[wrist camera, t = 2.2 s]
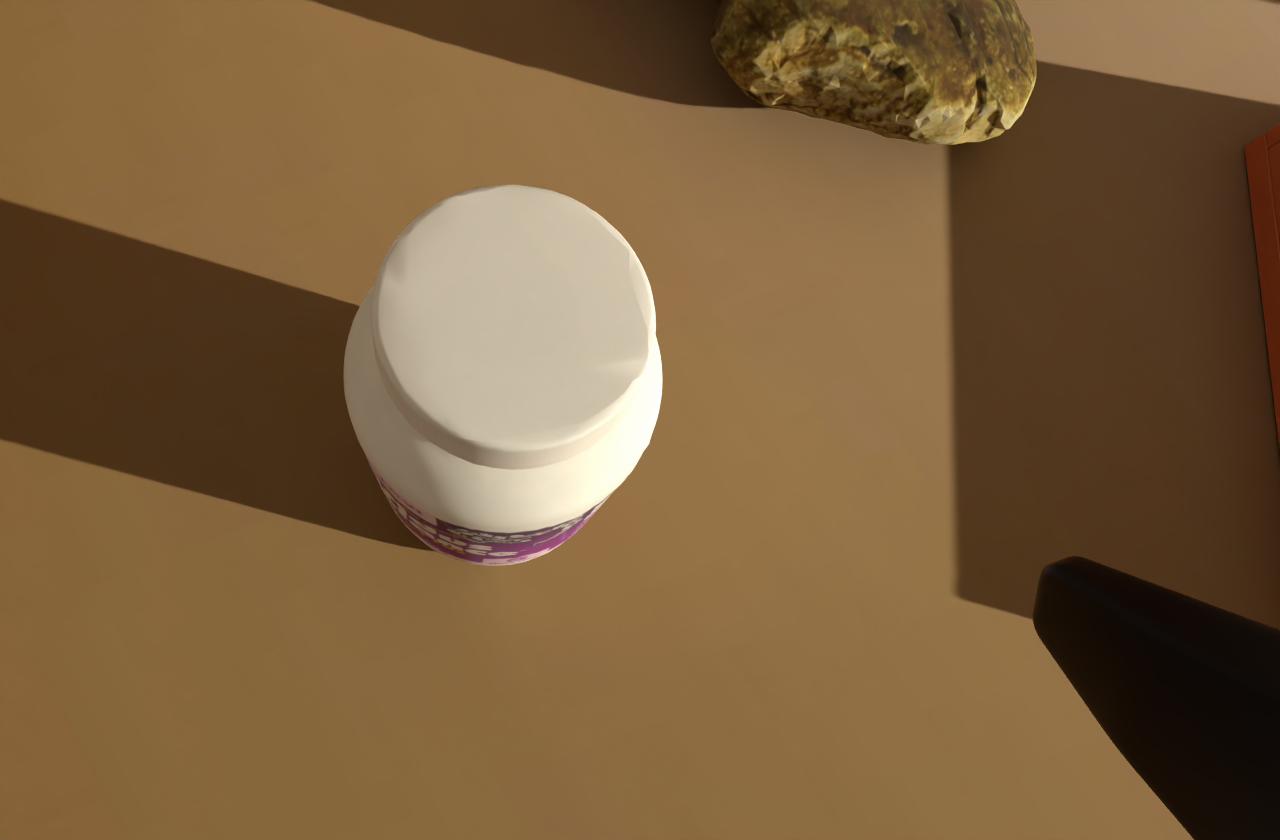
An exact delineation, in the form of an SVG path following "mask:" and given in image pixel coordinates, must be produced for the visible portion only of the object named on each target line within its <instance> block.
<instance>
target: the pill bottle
mask: <svg viewBox="0 0 1280 840" xmlns="http://www.w3.org/2000/svg"><path fill="white" fill-rule="evenodd" d="M655 331H656V317H655V308H654V302H653V296H652V291H651V288H650V284H649V281H648V278H647V276H646V273H645V271H644V269H643V267H642V265H641V263H640V261H639V259H638V258H637V256H636V254H635V252H634V251H633V249H632V248H631V246H630V245H629V244H628V242H627V241H626V240H625V239H624V237H623V236H622V235H621V234H620V233H619V232H618V231H617V230H616V229H615V228H614V227H613V226H612V225H611V224H610V223H608V222H607V221H606V220H605V219H604V218H603V217H601V216H600V215H599V214H598V213H596V212H595V211H593V210H591V209H589V208H588V207H587V206H585V205H584V204H582V203H580V202H578V201H576V200H574V199H572V198H570V197H568V196H565V195H563V194H560V193H557V192H554V191H551V190H547V189H543V188H539V187H533V186H526V185H492V186H483V187H479V188H472V189H468V190H465V191H462V192H459V193H456V194H454V195H452V196H450V197H447V198H445V199H442V200H441V201H439V202H437V203H436V204H434V205H433V206H431V207H429V208H428V209H426V210H425V211H423V212H422V213H421V214H420V215H418V216H417V217H416V218H415V219H414V220H413V221H412V222H411V223H409V224H408V226H407V227H406V228H405V229H404V230H403V231H402V232H401V233H400V235H399V236H398V237H397V238H396V239H395V241H394V242H393V244H392V245H391V247H390V248H389V250H388V252H387V253H386V255H385V257H384V259H383V261H382V263H381V266H380V268H379V271H378V274H377V277H376V280H375V283H374V284H373V286H372V287H371V289H370V290H369V292H368V293H367V295H366V296H365V298H364V299H363V301H362V303H361V305H360V307H359V309H358V311H357V313H356V316H355V318H354V320H353V323H352V326H351V329H350V333H349V336H348V340H347V345H346V349H345V357H344V392H345V399H346V404H347V408H348V412H349V416H350V419H351V422H352V425H353V428H354V430H355V433H356V436H357V439H358V441H359V443H360V445H361V447H362V449H363V451H364V453H365V455H366V457H367V459H368V462H369V464H370V467H371V470H372V472H373V474H374V476H375V477H376V479H377V481H378V483H379V486H380V488H381V489H382V491H383V492H384V494H385V496H386V497H387V499H388V501H389V503H390V505H391V507H392V508H393V510H394V512H395V513H396V514H397V516H398V517H399V518H400V520H401V521H402V522H403V523H404V525H405V526H406V527H407V528H408V529H409V530H410V531H411V532H412V533H413V534H414V535H416V536H417V537H418V538H419V539H420V540H421V541H422V542H424V543H425V544H426V545H428V546H429V547H430V548H432V549H434V550H436V551H437V552H439V553H441V554H443V555H446V556H448V557H451V558H453V559H456V560H459V561H463V562H466V563H471V564H478V565H490V566H496V565H511V564H516V563H522V562H525V561H528V560H531V559H534V558H536V557H539V556H541V555H543V554H546V553H548V552H550V551H551V550H553V549H555V548H556V547H558V546H559V545H561V544H562V543H563V542H565V541H566V540H567V539H569V538H570V537H571V536H572V535H573V534H575V533H576V532H577V531H578V530H579V529H580V528H581V527H582V526H583V525H584V524H585V523H586V522H587V521H588V519H589V518H590V517H591V516H592V515H593V514H594V513H595V512H596V511H597V510H598V508H599V507H600V506H601V505H602V504H603V503H604V502H605V501H606V500H607V498H608V497H609V496H610V495H611V494H612V493H613V492H614V491H615V490H616V489H617V488H618V487H619V486H620V485H621V484H622V483H623V482H624V480H625V479H626V478H627V477H628V475H629V474H630V473H631V471H632V470H633V469H634V467H635V466H636V464H637V462H638V460H639V458H640V457H641V455H642V453H643V452H644V450H645V449H646V447H647V446H648V445H649V441H650V438H651V434H652V432H653V429H654V427H655V424H656V420H657V417H658V413H659V408H660V402H661V395H662V365H661V357H660V352H659V346H658V342H657V339H656V335H655Z"/></svg>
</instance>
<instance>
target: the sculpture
mask: <svg viewBox="0 0 1280 840" xmlns="http://www.w3.org/2000/svg"><path fill="white" fill-rule="evenodd" d="M710 40H711V45H712V48H713V51H714V54H715V57H716V59H717V60H718V61H719V62H720V63H721V65H722V67H723V69H724V70H725V71H726V72H727V73H728V74H729V76H730V77H731V78H732V80H733V81H734V83H735V84H736V85H737V86H738V87H739V88H740V89H741V90H742V91H743V92H744V93H745V94H746V95H747V96H748V97H750V98H751V99H753V100H755V101H756V102H758V103H760V104H762V105H765V106H768V107H772V108H777V109H784V110H790V111H797V112H800V113H802V114H805V115H808V116H810V117H816V118H822V119H827V120H831V121H835V122H839V123H843V124H847V125H850V126H854V127H857V128H861V129H865V130H870V131H872V132H875V133H877V134H880V135H883V136H885V137H888V138H897V139H906V140H910V141H913V142H917V143H922V144H948V145H955V144H960V143H965V142H981V141H984V140H988V139H991V138H994V137H997V136H1000V135H1001V134H1002V133H1003V132H1004V131H1005V130H1006V129H1009V128H1011V126H1012V125H1013V124H1014V123H1015V121H1016V120H1017V119H1018V118H1019V117H1020V116H1021V114H1022V113H1023V111H1024V108H1025V106H1026V104H1027V102H1028V99H1029V97H1030V95H1031V92H1032V90H1033V88H1034V84H1035V80H1036V76H1037V71H1036V61H1035V54H1034V43H1033V40H1032V35H1031V31H1030V28H1029V27H1028V25H1027V24H1026V22H1025V21H1024V19H1023V18H1022V15H1021V13H1020V11H1019V9H1018V6H1017V4H1016V2H1015V0H720V4H719V8H718V11H717V15H716V18H715V20H714V22H713V27H712V34H711V38H710Z"/></svg>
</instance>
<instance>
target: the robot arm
mask: <svg viewBox="0 0 1280 840" xmlns="http://www.w3.org/2000/svg"><path fill="white" fill-rule="evenodd" d="M1033 623H1034V626H1035V630H1036V632H1037V634H1038V636H1039V638H1040V639H1041V641H1042V642H1043V644H1044V645H1045V646H1046V648H1047V649H1048V651H1049V652H1050V654H1051V655H1052V656H1053V658H1054V659H1055V661H1056V662H1057V664H1058V665H1059V666H1060V668H1061V669H1062V671H1063V672H1064V674H1065V675H1066V677H1067V678H1068V679H1069V681H1070V682H1071V684H1072V685H1073V687H1074V688H1075V689H1076V691H1077V692H1078V694H1079V695H1080V697H1081V698H1082V699H1083V701H1084V702H1085V704H1086V705H1087V707H1088V708H1089V710H1090V711H1091V712H1092V714H1093V715H1094V717H1095V718H1096V720H1097V721H1098V722H1099V724H1100V725H1101V727H1102V728H1103V730H1104V731H1105V732H1106V734H1107V735H1108V736H1109V738H1110V739H1111V740H1112V742H1113V743H1114V744H1115V746H1116V747H1117V748H1118V750H1119V751H1120V752H1121V753H1122V755H1123V756H1124V757H1125V758H1126V760H1127V761H1128V762H1129V763H1130V764H1131V766H1132V767H1133V768H1134V769H1135V770H1136V772H1137V773H1138V774H1139V775H1140V776H1141V777H1142V779H1143V780H1144V781H1145V782H1146V783H1147V785H1148V786H1149V787H1150V788H1151V789H1152V790H1153V792H1154V793H1155V794H1156V795H1157V796H1158V797H1159V799H1160V800H1161V801H1162V802H1163V803H1164V805H1165V806H1166V807H1167V808H1168V809H1169V810H1170V812H1171V813H1172V814H1173V815H1174V816H1175V818H1176V819H1177V820H1178V821H1179V822H1180V823H1181V825H1182V826H1183V827H1184V828H1185V829H1186V830H1187V832H1188V833H1189V834H1190V835H1191V836H1192V838H1193V839H1194V840H1280V630H1278V629H1275V628H1272V627H1270V626H1267V625H1264V624H1262V623H1259V622H1256V621H1253V620H1251V619H1248V618H1245V617H1243V616H1240V615H1237V614H1235V613H1232V612H1229V611H1226V610H1224V609H1221V608H1218V607H1216V606H1213V605H1210V604H1208V603H1205V602H1202V601H1200V600H1197V599H1194V598H1191V597H1189V596H1186V595H1183V594H1181V593H1178V592H1175V591H1173V590H1170V589H1167V588H1164V587H1162V586H1159V585H1156V584H1154V583H1151V582H1148V581H1146V580H1143V579H1140V578H1137V577H1135V576H1132V575H1129V574H1127V573H1124V572H1121V571H1119V570H1116V569H1113V568H1110V567H1108V566H1105V565H1102V564H1100V563H1097V562H1094V561H1092V560H1089V559H1086V558H1083V557H1078V556H1072V557H1067V558H1065V559H1062V560H1059V561H1057V562H1054V563H1051V564H1049V565H1047V566H1045V567H1044V568H1043V570H1042V571H1041V573H1040V577H1039V582H1038V588H1037V594H1036V599H1035V605H1034V611H1033Z"/></svg>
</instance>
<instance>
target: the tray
mask: <svg viewBox="0 0 1280 840" xmlns="http://www.w3.org/2000/svg"><path fill="white" fill-rule="evenodd" d="M1244 149H1245V157H1246V166H1247V175H1248V183H1249V192H1250V201H1251V209H1252V218H1253V226H1254V235H1255V244H1256V252H1257V261H1258V269H1259V278H1260V287H1261V295H1262V304H1263V313H1264V321H1265V330H1266V338H1267V347H1268V356H1269V364H1270V373H1271V381H1272V390H1273V399H1274V407H1275V416H1276V425H1277V433H1278V442H1279V450H1280V123H1279V124H1277V125H1276V126H1274V127H1273V128H1271V129H1270V130H1268V131H1267V132H1266V133H1263V134H1262V135H1260V136H1259V137H1257V138H1256V139H1254V140H1253V141H1251V142H1250V143H1248V144H1247V145H1245V147H1244Z"/></svg>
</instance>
